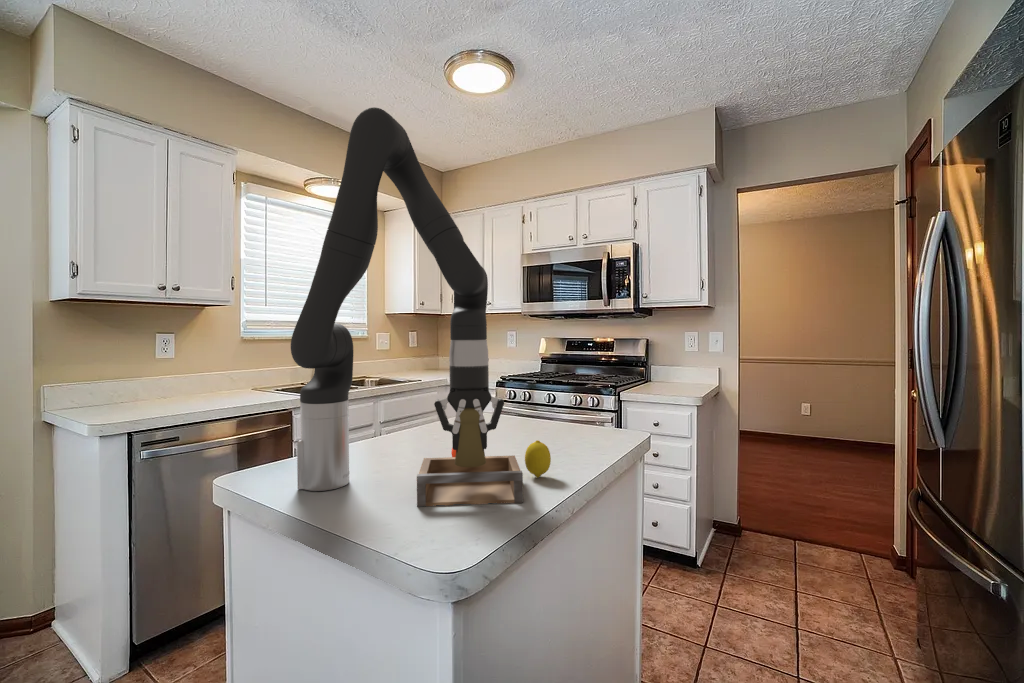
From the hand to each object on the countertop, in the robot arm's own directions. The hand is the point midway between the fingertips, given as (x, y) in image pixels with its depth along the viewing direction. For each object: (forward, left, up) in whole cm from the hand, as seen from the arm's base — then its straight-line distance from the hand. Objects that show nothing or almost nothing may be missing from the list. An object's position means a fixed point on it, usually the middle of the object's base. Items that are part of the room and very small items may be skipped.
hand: (470, 451), depth 94 cm
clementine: (-1, +18, -8) cm, 20 cm away
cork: (0, 0, -2) cm, 2 cm away
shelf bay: (0, 0, -8) cm, 8 cm away
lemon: (+14, +8, -8) cm, 19 cm away
